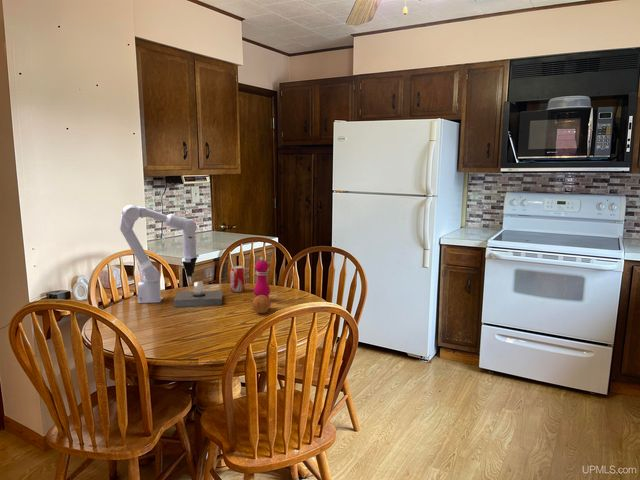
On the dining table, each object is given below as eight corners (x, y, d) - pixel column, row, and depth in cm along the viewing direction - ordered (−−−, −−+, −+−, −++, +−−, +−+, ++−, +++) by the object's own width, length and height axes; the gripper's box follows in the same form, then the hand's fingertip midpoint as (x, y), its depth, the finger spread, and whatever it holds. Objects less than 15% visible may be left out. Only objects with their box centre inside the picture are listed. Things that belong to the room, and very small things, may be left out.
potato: (249, 315, 193) (249, 298, 192) (256, 306, 206) (256, 290, 205) (266, 316, 192) (266, 299, 191) (273, 307, 205) (273, 291, 204)
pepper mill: (271, 298, 219) (271, 256, 216) (268, 302, 212) (268, 258, 209) (256, 298, 220) (255, 255, 217) (252, 302, 213) (251, 258, 210)
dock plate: (174, 307, 205) (173, 300, 204) (178, 298, 218) (177, 292, 218) (221, 305, 208) (221, 298, 207) (222, 296, 222) (222, 290, 221)
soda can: (243, 292, 229) (243, 268, 227) (229, 292, 229) (228, 268, 227) (246, 289, 236) (245, 265, 234) (232, 289, 236) (231, 265, 234)
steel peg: (194, 303, 211) (193, 283, 209) (194, 300, 214) (193, 281, 213) (203, 302, 212) (203, 282, 210) (203, 300, 215) (202, 280, 214)
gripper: (196, 248, 212) (197, 277, 214) (199, 243, 226) (200, 271, 228) (180, 248, 211) (181, 278, 213) (184, 243, 225) (185, 271, 227)
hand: (190, 274), depth 220 cm, fingers open, 7 cm apart
